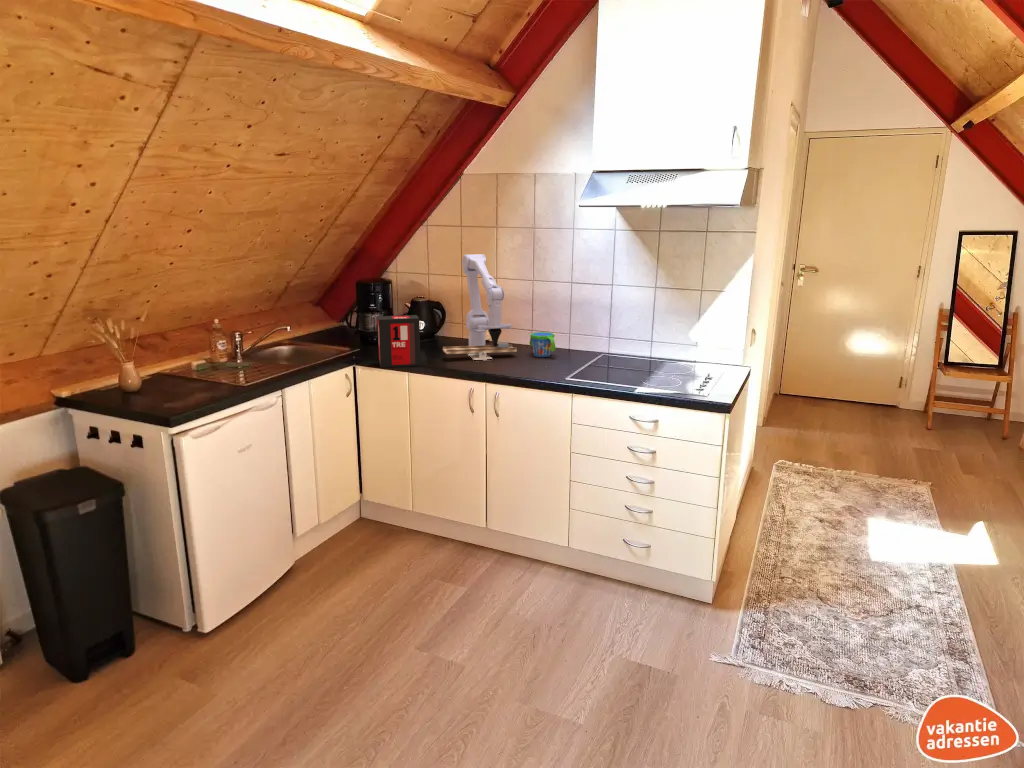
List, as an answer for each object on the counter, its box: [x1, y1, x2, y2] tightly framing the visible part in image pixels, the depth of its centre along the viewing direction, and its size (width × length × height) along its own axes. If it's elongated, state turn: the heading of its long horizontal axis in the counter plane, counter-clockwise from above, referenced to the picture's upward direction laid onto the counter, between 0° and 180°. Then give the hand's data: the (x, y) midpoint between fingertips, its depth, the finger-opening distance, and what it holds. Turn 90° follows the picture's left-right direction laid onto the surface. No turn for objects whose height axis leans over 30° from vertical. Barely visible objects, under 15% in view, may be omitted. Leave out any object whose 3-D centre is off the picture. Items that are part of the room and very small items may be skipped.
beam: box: [442, 344, 518, 355], centre depth 294 cm, size 32×7×2 cm, turn 109°
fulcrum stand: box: [467, 352, 493, 361], centre depth 295 cm, size 11×8×4 cm
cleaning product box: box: [376, 314, 421, 368], centre depth 280 cm, size 16×9×20 cm, turn 105°
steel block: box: [495, 341, 510, 348], centre depth 297 cm, size 5×5×2 cm
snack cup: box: [528, 331, 556, 358], centre depth 299 cm, size 16×10×10 cm
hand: (494, 345), depth 296 cm, fingers closed
